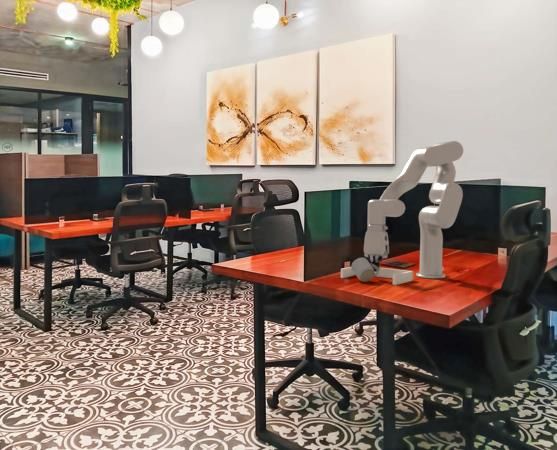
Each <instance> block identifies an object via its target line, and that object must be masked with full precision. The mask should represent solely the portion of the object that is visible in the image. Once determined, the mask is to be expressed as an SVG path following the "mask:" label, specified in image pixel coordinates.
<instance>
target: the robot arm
mask: <svg viewBox="0 0 557 450" xmlns="http://www.w3.org/2000/svg"><path fill="white" fill-rule="evenodd" d="M463 154H464V146H463V145H462V144H461V143H460V142H458V141H457V140H456V141H455V140H451V141H444V142H439V143H435V144H434V145H432V146H425V147H420V148H417V149H415V150H413V152H412V153H411V155H410V157H409V159H408V160H407V162H406V164H405V165H404V167H403V169H402V171H401V172H400V174H399V175H398V177H396V178H395V179H394V180H393V181H392V182H391V183H390V184H389V185H388V186H387V188H386V189H385V190H383V193H382V194H381V196H380V198H379V199H370V200H369V201H368V202H367V222H366V223H367V226H366V227H367V228H366V229H367V230H366V232H365V235H364V243H363V253H364V258H367V259H369V260H370V262H371V264H374V265H376V266H377V267H378V268H379V269H380V268H381V267H380V265H381V264H380V263H381V261H382V260H384V259H387V258H388V255H389V253H390V246H389V244H390V243H389V242H390V241H389V235H388V232H387V231H386V230H388V229H389V227H388V226H387V225H386V217H391V218H392V217H393V218H397V217H401V216H402V215H403V214H404V213H405V210H406V206H405V203H404V202H403V201H402V200H400V199H399V198H400V197H402V195H403V194H405V193H407V192H408V191H410V190H412V189H414V188H415V187H416V186H417V185H418V184H419V182H420V180H421V179H422V177H423V176H424V174H425V172H426V171H427V168H430V167H435V175H434V179H433V181H432V183H431V188H430V190H429V192H428V193H429V195H428V198H429V200H430V202H431V203H433V204H434V205H428V206H425V207H423V208H422V209H421V210H420V211H419V214H418V223H419V229H420V231H419V232H420V240H419V241H420V246H419V271H418V272H416V273H415V276H416V277H419V278H421V279H422V278H424V279H444V278H446V274H445V273H443V271H444V269H445V267H444V266H443V245H444V244H443V243H444V238H443V237H444V235H443V232H442V229H449V228H450V227H452V226H453V225H454V223H455V222H456V219H457V216H458V213H459V210H460V207H461V205H462V201H463V197H464V195H463V193H464V192H463V189H462V187H461V186H460V185H459V184H458V183H456V182H455V179H456V174H457V172H456V167H455V164H454V162H455V161H458V160H460V159H461V157H462V156H463ZM435 204H436V205H435ZM372 268H373V267H372ZM373 269H374V272H377V271H376V269H375V268H373Z"/></svg>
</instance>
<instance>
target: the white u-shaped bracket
mask: <svg viewBox="0 0 557 450" xmlns="http://www.w3.org/2000/svg"><path fill="white" fill-rule="evenodd" d="M375 273H377V272H375ZM353 276H356V274H355V273H354V272H353V270H352V268H351V266H349V267H344V268H343V267H342V268H340V278H341V279H344V278H349V277H353ZM375 277H377V278H386V279H392V285H393V286H397V285H400V284H404V283H409V282H412V281H414V271H413V270H405V269H397V268H396V269H395V268H386V267H380V269H379V274H378V275H376V276H375Z"/></svg>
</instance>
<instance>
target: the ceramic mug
mask: <svg viewBox="0 0 557 450" xmlns="http://www.w3.org/2000/svg"><path fill="white" fill-rule="evenodd" d="M350 267H351V268H352V270H353V272H354V273H355V274H356V275H355V276H356V277H357V278H358V280H360V282H362V283H368V282H370V281H371V280H373V278H374V277H377V276H376V275H378V274H379V268H378V267H377V266H376V265H374V264H372V263H370V262H369V260H368V258H367V257H358V258H357V259H355V260H354V261H353V262H352V263H351V266H350ZM372 267H373V268H375V269H376V271H377V273H375V272H374V269H373V268H372Z"/></svg>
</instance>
